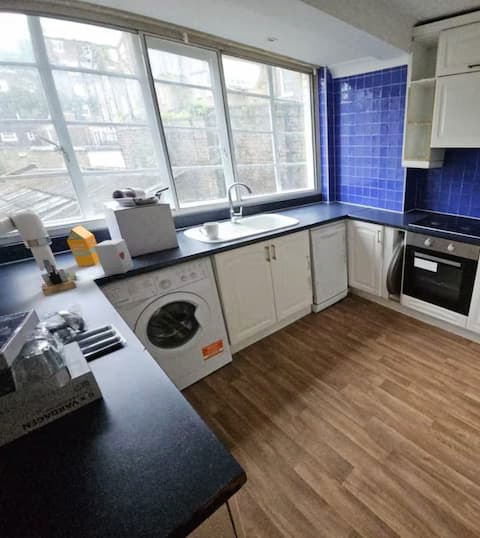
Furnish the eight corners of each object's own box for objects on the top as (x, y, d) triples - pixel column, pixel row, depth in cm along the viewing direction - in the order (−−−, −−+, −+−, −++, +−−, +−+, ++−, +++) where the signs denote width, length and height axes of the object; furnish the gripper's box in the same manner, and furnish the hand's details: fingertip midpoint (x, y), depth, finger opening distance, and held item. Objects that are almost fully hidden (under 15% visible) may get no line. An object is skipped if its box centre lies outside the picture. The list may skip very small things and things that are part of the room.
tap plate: (43, 297, 122) (39, 290, 121) (43, 289, 129) (39, 283, 128) (78, 288, 129) (75, 281, 128) (76, 281, 136) (73, 274, 135)
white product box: (124, 273, 143) (113, 244, 137) (104, 275, 142) (92, 245, 136) (134, 266, 151) (124, 238, 145) (115, 268, 150) (104, 240, 144)
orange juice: (103, 259, 163) (89, 224, 155) (96, 265, 155) (80, 228, 147) (86, 261, 161) (71, 225, 153) (78, 267, 153) (61, 230, 145)
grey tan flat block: (46, 285, 125) (41, 274, 123) (46, 284, 126) (41, 273, 124) (68, 280, 130) (63, 269, 128) (68, 279, 131) (63, 268, 129)
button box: (48, 287, 131) (44, 279, 130) (47, 282, 136) (44, 274, 134) (77, 280, 138) (74, 272, 136) (76, 275, 142) (73, 268, 141)
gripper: (25, 240, 123) (45, 279, 131) (23, 248, 113) (45, 290, 120) (50, 236, 128) (68, 274, 135) (50, 243, 118) (70, 284, 125)
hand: (57, 281), depth 128 cm, fingers closed
